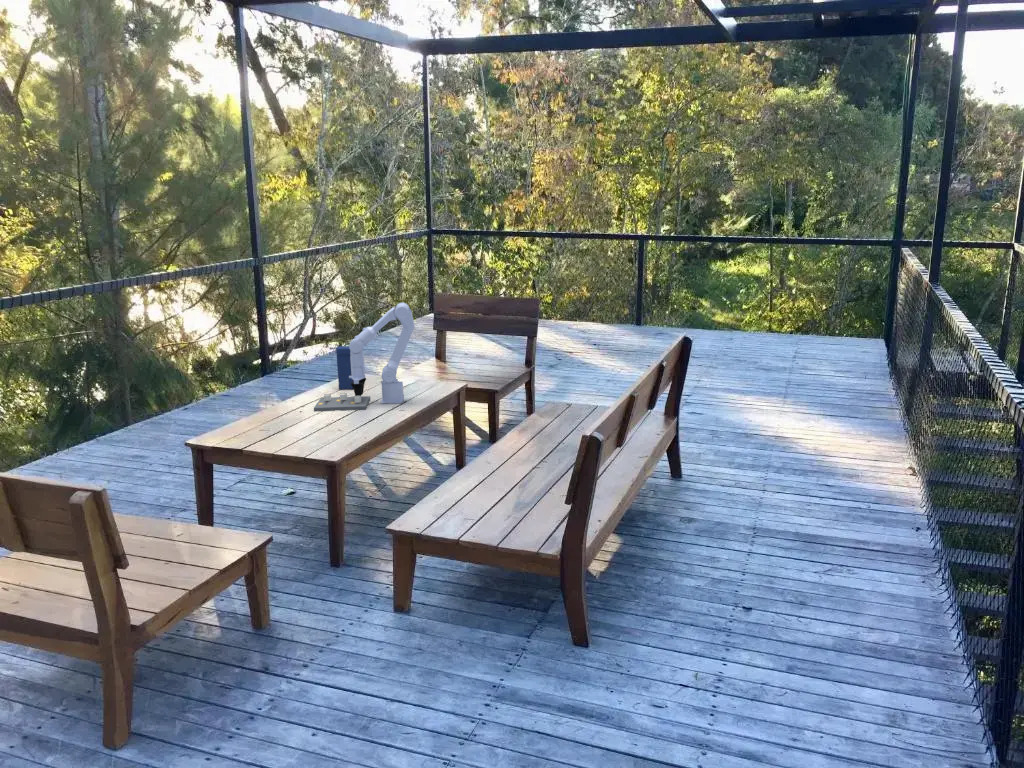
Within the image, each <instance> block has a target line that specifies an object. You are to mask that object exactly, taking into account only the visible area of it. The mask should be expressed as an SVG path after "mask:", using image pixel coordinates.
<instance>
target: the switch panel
mask: <svg viewBox="0 0 1024 768" xmlns="http://www.w3.org/2000/svg"><path fill="white" fill-rule="evenodd" d="M354 397H355V396H347V399H346V400H340V396H337V397H336V396H335V397H333V396H331V400H330V401H324V397H321V398H319V400H318V402H316V404H315V406H314V407H313V412H332V411H333V412H334V411H335V410H340V411H365V410H367V408H368V406H369V404H370V402H369V401H371V400H370V399H372V398H371V396H370V395H365V396H364V395H363V396H362V395H361V403H355V399H354ZM335 412H336V411H335Z"/></svg>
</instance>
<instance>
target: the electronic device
mask: <svg viewBox="0 0 1024 768" xmlns="http://www.w3.org/2000/svg"><path fill="white" fill-rule="evenodd" d="M335 350H336V354H335V355H336V364H337V366H336V367H337V368H336V369H337V380H338V381H337V382H338V390H353V387H352V386H351V382H354V381H353V379H352V378H349V376H352V374H351V360H350V356H351V354H350V349H349V346H348V345H347V346H345V345H344V346H342V345H341V346H337V347H335Z"/></svg>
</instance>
